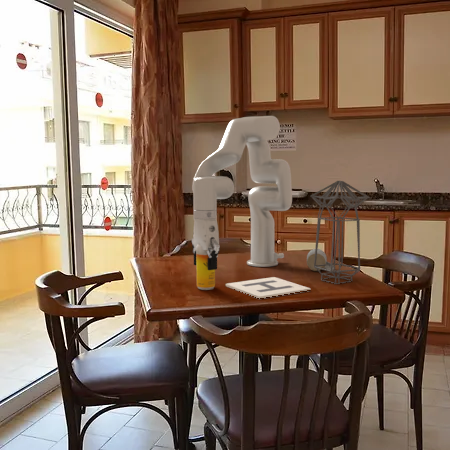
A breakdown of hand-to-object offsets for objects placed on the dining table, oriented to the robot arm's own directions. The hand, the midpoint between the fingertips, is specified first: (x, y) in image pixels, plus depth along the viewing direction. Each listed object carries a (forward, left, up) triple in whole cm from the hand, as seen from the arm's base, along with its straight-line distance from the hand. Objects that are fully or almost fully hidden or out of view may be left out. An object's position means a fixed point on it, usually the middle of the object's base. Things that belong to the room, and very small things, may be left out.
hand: (205, 267), depth 173 cm
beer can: (0, 0, -7) cm, 7 cm away
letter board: (-17, +11, -7) cm, 22 cm away
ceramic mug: (-52, -4, -7) cm, 53 cm away
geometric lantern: (-45, +14, -7) cm, 48 cm away
